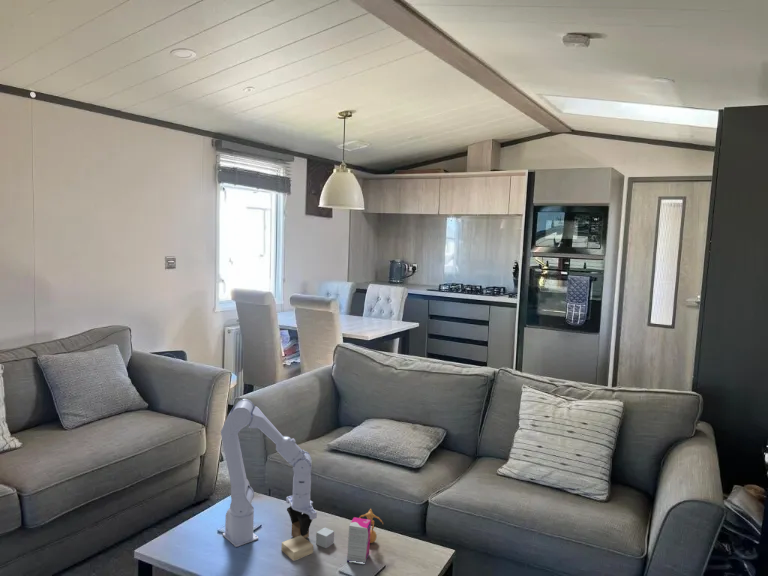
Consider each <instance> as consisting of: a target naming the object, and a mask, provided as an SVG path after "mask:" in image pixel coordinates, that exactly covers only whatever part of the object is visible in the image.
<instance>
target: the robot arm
mask: <svg viewBox="0 0 768 576" xmlns="http://www.w3.org/2000/svg"><path fill="white" fill-rule="evenodd" d="M248 425H249V426H248ZM246 426H248V429H258V430H260V432H262V433H263V434H264V435H265V436H266V437H267V438H268V439H270V440H271V442H273V443H274V444H275V451H276V452H277V453H278V454H279V455H280V456H281V457H282V458H283V459H284V460H285V461H286V462H287V463H288V464H289V465H291V466H292V471H293V478H292V495H289V496H286V498H285V503H286V504H289V505H290V506H289V507H287V508H286V511H287V513H288V514H289V518H290V522H291V524H292V523H295V522H298V521H299V523H300V532H301V536H304V535H307V534H308V530H309V531H310V527H311V523H312V522H313V520H314V519H317V514H318V513H317V511H316V510H315V509H314V507H313V503H314V501H312V500H311V492H312V491H311V489H312V476H311V475H312V473H311V472H312V468H313V467H312V456H311V454H310V452H308V451H306V450H305V449H302V448H301V447H300V446H299V445H298V444H297V442H296V439H295V438H294V437H293V438H292V437H290V436H287V435H283V434H282V433H281V432H280V431H279V430H278V429H277V427H276V426H275V425H274V424H273V423H272V421H270V420H269V418H268V417H267V416H266V415H265V414H264V413H263V412H262V410H261V409H260V408H259V407H258V406H257V405H256V406H255V405H254V402H253V401H251V400H250V399H245V398H244V399H241V400H238V402H237V403H236V404H235V405H233V407H232V408H231V410H230V412H229V414H228V415H227V417H226V419H225V421H224V424H223V426H222V428H221V431H220V436H221V441H222V446H223V450H224V451H223V452H224V455H225V456H224V457H225V461H226V466H227V470H228V472H227V473H228V476H229V482H230V497H231V501H230V504H229V508H228V509H227V510H226V514H225V528H224V529H225V531H224V532H223V533H222V536H223V537H224V538H226V540H227V541H228V542H229V543H231V544H232V545H233V546H234V547H237V548H238V547H241V546H243V545H247V544H248V543H251V542H253V541H256V540H259V536H258V535H257V534H255V533H254V519H255V518H254V516H255V514H254V512H255V509H254V506H253V504H252V503H253V500H254V498H255V491H254V489H253V488H252V486H250V481H249V480H248V478H247V474H246V468H245V465H244V464H245V462H244V459H243V453H242V447H241V444H240V443H241V442H240V438H239V433H240V431H241V430H242V429H244V428H246Z"/></svg>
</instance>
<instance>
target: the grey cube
mask: <svg viewBox="0 0 768 576" xmlns="http://www.w3.org/2000/svg"><path fill="white" fill-rule="evenodd" d="M315 533H316V536H315V537H316V538H315V539H316V541H315V545H317V546H319V547H322V548H324V549H327V548H329V547H330V546H332V545H333V544H334V543H335V531H334V530H332V529H330V528H327V527H323V528H321V529H320V530H318V531H316V532H315Z"/></svg>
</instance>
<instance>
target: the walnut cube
mask: <svg viewBox="0 0 768 576" xmlns="http://www.w3.org/2000/svg"><path fill="white" fill-rule="evenodd" d="M290 534H291V537H292V538H295V537H297V536H300V535H301V532H300V523H299V521H298V522H295V523H292V522H291V533H290ZM303 537H304V538H305V539H307V538H309V537H310V529H309V530H308V534H307V535H304V536H303Z"/></svg>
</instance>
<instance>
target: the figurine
mask: <svg viewBox="0 0 768 576" xmlns="http://www.w3.org/2000/svg"><path fill="white" fill-rule="evenodd" d="M364 517H366V519H368V520H371V530H370V544H373V543H374V542H376V540H377V532H376V531H375V530H374V528H375V527H374V526H375V520H373V518H375V519H376V520H379V521H380V523H382V525H384V522H383V520H382V519H381V518H380V517H379V516H377V515H375V514H374V512H373V510H372V508H370V509H369V510H368V512H366V513H365V514H361V515H359V517H358V518H364Z"/></svg>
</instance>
